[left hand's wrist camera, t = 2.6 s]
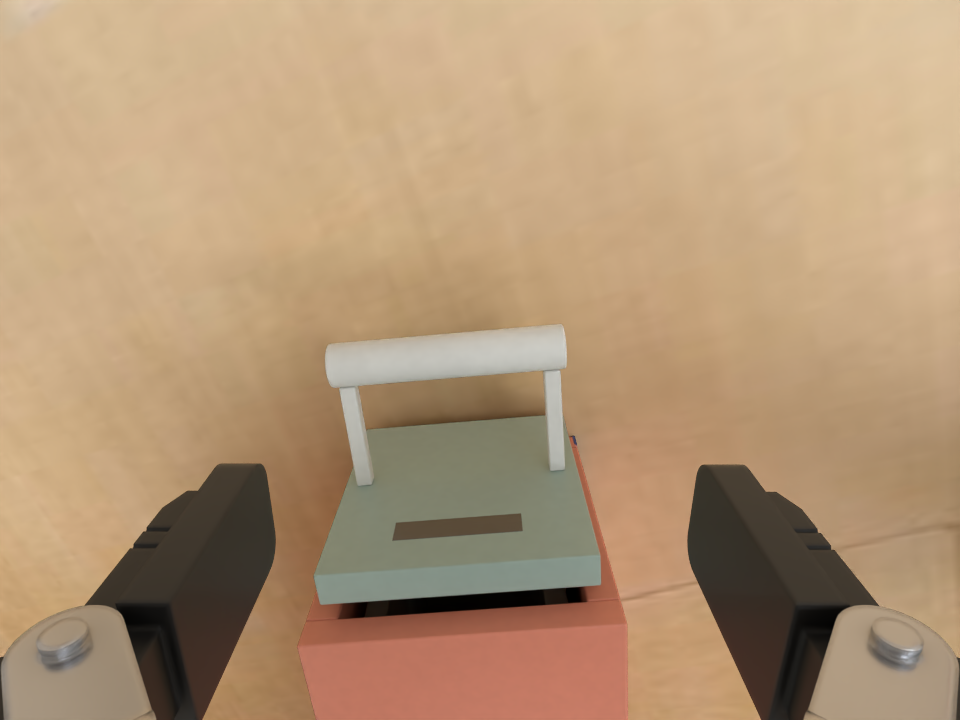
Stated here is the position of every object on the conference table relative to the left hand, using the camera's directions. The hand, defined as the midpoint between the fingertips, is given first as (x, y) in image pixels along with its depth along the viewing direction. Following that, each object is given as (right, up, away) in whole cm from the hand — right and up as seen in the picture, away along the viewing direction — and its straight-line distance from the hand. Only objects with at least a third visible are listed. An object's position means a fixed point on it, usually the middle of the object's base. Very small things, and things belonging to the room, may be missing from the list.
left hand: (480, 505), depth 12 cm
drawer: (0, -6, +20) cm, 21 cm away
